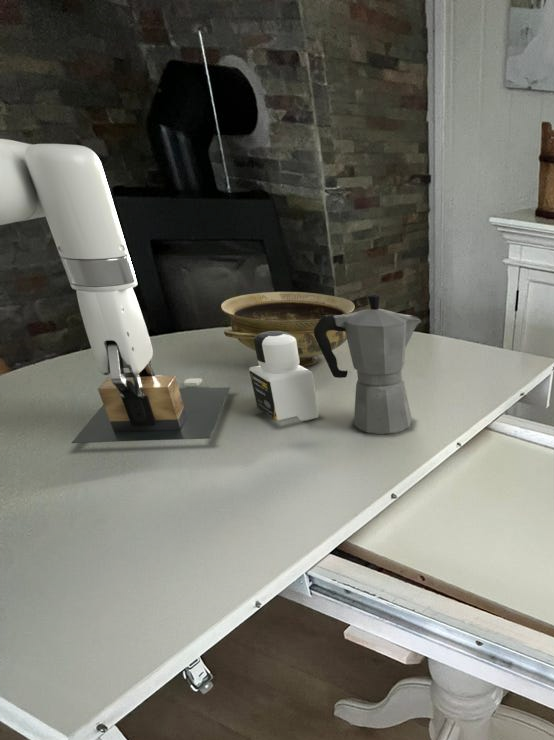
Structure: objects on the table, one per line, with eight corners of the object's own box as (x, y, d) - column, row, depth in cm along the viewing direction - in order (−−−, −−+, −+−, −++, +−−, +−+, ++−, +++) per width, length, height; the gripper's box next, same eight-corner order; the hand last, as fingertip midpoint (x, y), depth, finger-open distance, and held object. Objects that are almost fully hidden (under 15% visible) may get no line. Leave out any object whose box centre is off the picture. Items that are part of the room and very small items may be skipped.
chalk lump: (185, 392, 100) (182, 382, 99) (190, 387, 102) (187, 378, 101) (199, 392, 100) (197, 383, 99) (204, 388, 102) (201, 378, 101)
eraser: (113, 432, 84) (97, 388, 80) (123, 419, 87) (107, 377, 83) (180, 429, 85) (167, 387, 81) (187, 417, 89) (175, 375, 85)
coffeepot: (415, 409, 98) (411, 285, 86) (431, 430, 91) (429, 299, 80) (322, 418, 94) (304, 289, 82) (332, 441, 87) (314, 304, 75)
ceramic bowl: (281, 393, 101) (269, 330, 95) (193, 366, 111) (178, 306, 104) (393, 356, 121) (390, 301, 114) (311, 335, 130) (304, 283, 124)
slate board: (74, 451, 81) (71, 442, 80) (118, 397, 97) (116, 389, 97) (211, 446, 84) (209, 438, 83) (232, 394, 100) (230, 387, 99)
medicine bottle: (257, 414, 94) (240, 331, 86) (298, 405, 98) (285, 325, 90) (277, 428, 90) (261, 343, 82) (319, 418, 94) (307, 336, 86)
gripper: (89, 260, 79) (135, 398, 91) (43, 286, 67) (104, 442, 79) (148, 261, 80) (187, 397, 92) (114, 286, 68) (164, 439, 80)
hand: (148, 416), depth 85 cm, fingers closed on eraser, 5 cm apart
